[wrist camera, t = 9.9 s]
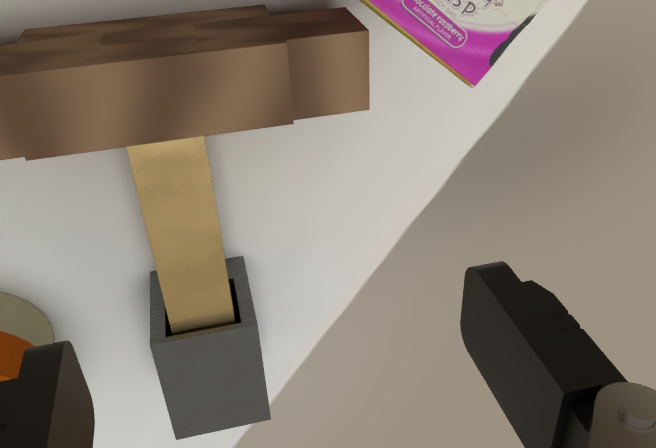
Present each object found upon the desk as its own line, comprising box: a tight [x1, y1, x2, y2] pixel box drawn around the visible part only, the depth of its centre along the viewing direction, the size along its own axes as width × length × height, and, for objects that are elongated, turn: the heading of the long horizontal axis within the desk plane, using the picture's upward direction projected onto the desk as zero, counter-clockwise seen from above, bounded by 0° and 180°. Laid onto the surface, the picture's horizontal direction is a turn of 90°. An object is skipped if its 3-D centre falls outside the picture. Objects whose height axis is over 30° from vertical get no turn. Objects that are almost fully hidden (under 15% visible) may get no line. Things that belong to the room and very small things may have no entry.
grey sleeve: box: [150, 256, 271, 440], centre depth 47 cm, size 7×10×8 cm
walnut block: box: [0, 5, 369, 161], centre depth 35 cm, size 23×4×8 cm, turn 93°
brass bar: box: [126, 136, 236, 336], centre depth 40 cm, size 4×21×4 cm, turn 3°
